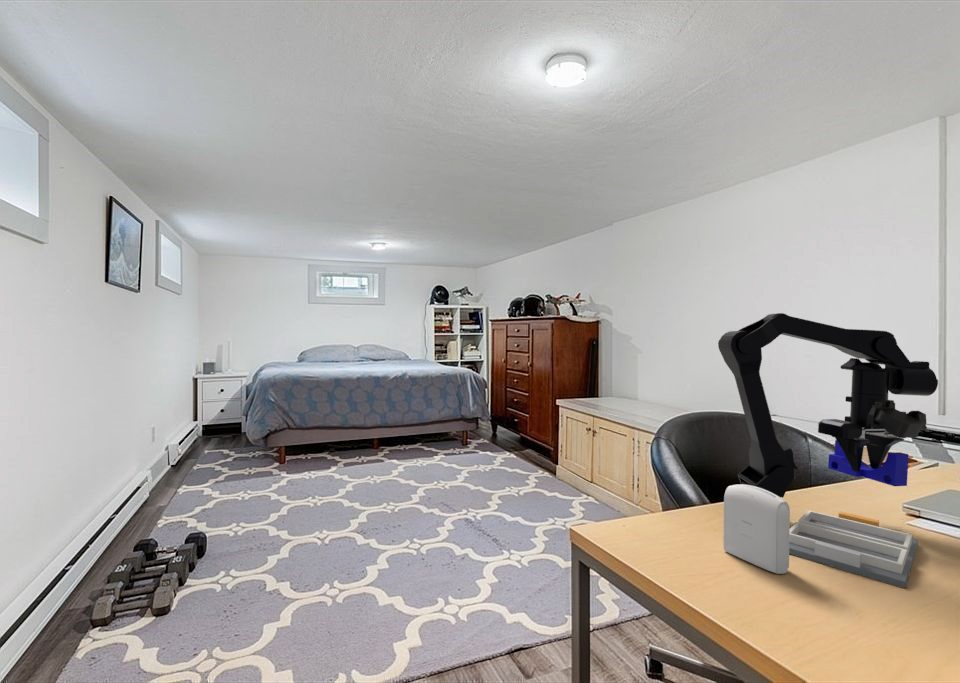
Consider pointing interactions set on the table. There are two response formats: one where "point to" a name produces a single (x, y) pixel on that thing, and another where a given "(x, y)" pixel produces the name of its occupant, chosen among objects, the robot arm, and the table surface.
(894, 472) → the blue curved cradle
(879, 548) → the dock board
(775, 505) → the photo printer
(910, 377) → the robot arm
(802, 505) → the table surface
